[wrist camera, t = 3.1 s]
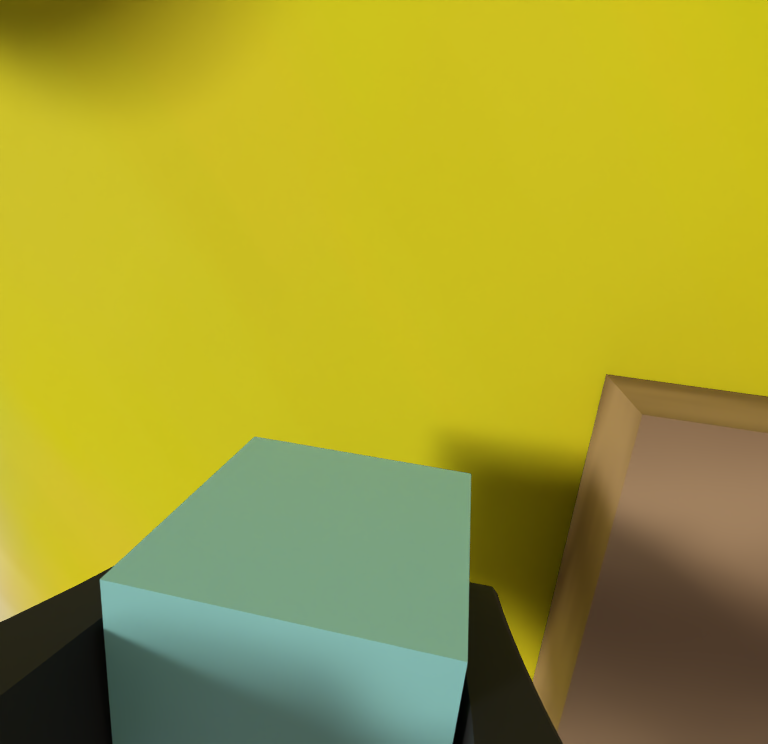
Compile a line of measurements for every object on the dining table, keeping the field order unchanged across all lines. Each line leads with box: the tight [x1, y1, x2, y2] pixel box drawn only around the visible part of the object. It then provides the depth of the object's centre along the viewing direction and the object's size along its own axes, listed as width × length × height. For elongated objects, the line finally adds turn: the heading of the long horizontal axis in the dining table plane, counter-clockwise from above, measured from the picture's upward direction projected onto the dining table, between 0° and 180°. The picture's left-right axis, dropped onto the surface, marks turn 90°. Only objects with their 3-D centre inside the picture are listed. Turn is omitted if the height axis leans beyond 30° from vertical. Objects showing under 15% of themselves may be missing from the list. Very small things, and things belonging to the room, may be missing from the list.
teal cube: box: [100, 437, 471, 744], centre depth 9 cm, size 4×4×4 cm
